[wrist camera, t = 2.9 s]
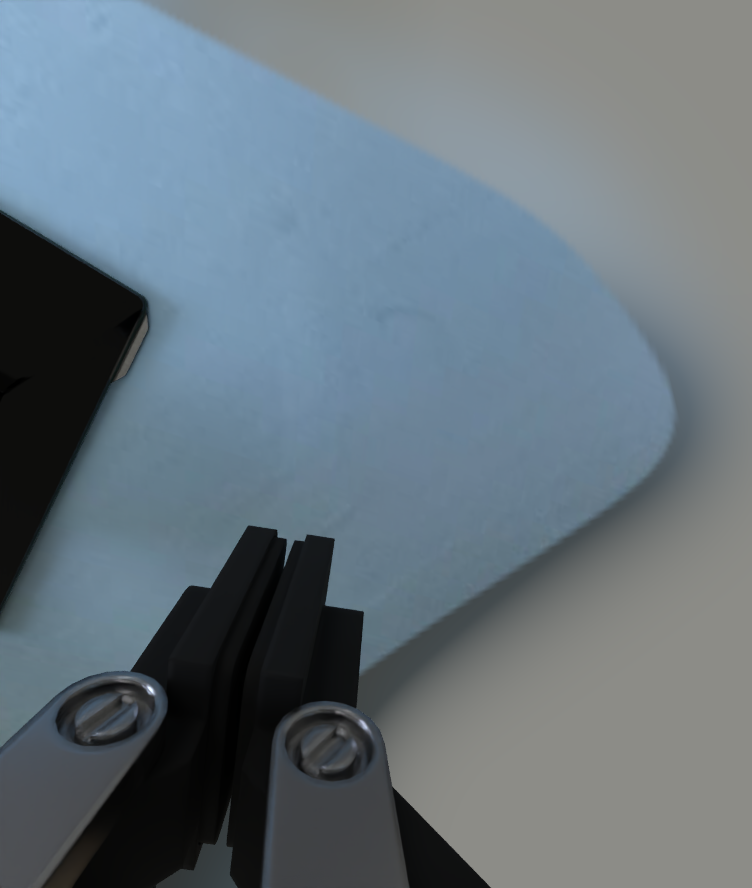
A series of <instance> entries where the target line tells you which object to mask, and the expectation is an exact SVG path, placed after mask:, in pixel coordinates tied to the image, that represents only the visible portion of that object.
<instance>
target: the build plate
mask: <svg viewBox="0 0 752 888" xmlns="http://www.w3.org/2000/svg"><path fill="white" fill-rule="evenodd" d="M147 307H148V303H147V300H146V298H145V297H144V296H143V295H141V294H139V293H138V292H136V291H134V290H133V289H131V288H129V287H128V286H126V285H124V284H123V283H121V282H120V281H118V280H116V279H115V278H113V277H111V276H110V275H108V274H106V273H105V272H103V271H101V270H100V269H98V268H96V267H95V266H93V265H91V264H90V263H88V262H86V261H85V260H83V259H81V258H80V257H78V256H76V255H75V254H73V253H71V252H70V251H68V250H66V249H65V248H63V247H61V246H60V245H58V244H56V243H55V242H53V241H51V240H50V239H48V238H47V237H45V236H43V235H42V234H40V233H38V232H37V231H35V230H33V229H32V228H30V227H28V226H27V225H25V224H23V223H22V222H20V221H18V220H17V219H15V218H13V217H12V216H10V215H8V214H7V213H5V212H3V211H2V210H0V614H1V612H2V609H3V607H4V605H5V603H6V601H7V599H8V597H9V595H10V593H11V591H12V589H13V587H14V584H15V582H16V580H17V578H18V576H19V574H20V572H21V570H22V568H23V566H24V564H25V562H26V559H27V557H28V555H29V553H30V551H31V549H32V547H33V545H34V543H35V541H36V539H37V537H38V535H39V532H40V530H41V528H42V526H43V524H44V522H45V520H46V518H47V516H48V514H49V512H50V510H51V507H52V505H53V503H54V501H55V499H56V497H57V495H58V493H59V491H60V489H61V487H62V485H63V482H64V480H65V478H66V476H67V474H68V472H69V470H70V468H71V466H72V464H73V462H74V460H75V457H76V455H77V453H78V451H79V449H80V447H81V445H82V443H83V441H84V439H85V437H86V435H87V433H88V430H89V428H90V426H91V424H92V422H93V420H94V418H95V416H96V414H97V412H98V410H99V408H100V405H101V403H102V401H103V399H104V397H105V395H106V393H107V391H108V389H109V387H110V385H111V383H112V382H114V381H116V380H118V379H120V378H122V377H123V376H125V375H126V374H127V372H128V370H129V368H130V366H131V364H132V362H133V360H134V358H135V356H136V354H137V352H138V350H139V348H140V346H141V343H142V341H143V339H144V337H145V335H146V333H147V331H148V329H149V326H148V316H147Z"/></svg>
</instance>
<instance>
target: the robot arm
mask: <svg viewBox="0 0 752 888" xmlns="http://www.w3.org/2000/svg"><path fill="white" fill-rule="evenodd" d="M277 536H278V532H277V530H275V529H268V528H262V527H255V526H248V527H247V528H246V530H245V532H244V533H243V535H242V537H241V538H240V540H239V542H238V543H237V545H236V547H235V548H234V550H233V552H232V553H231V555H230V557H229V558H228V560H227V562H226V563H225V565H224V567H223V568H222V570H221V572H220V573H219V575H218V577H217V578H216V580H215V582H214V583H213V585H212V587H211V588H205V587H199V586H189V587H188V588H187V589H186V590H185V591H184V593H183V594H182V596H181V597H180V599H179V600H178V602H177V603H176V605H175V606H174V608H173V609H172V611H171V612H170V614H169V615H168V616H167V618H166V619H165V621H164V622H163V624H162V625H161V627H160V628H159V630H158V631H157V633H156V634H155V636H154V637H153V639H152V640H151V642H150V643H149V644H148V646H147V647H146V649H145V650H144V652H143V653H142V655H141V656H140V658H139V659H138V661H137V662H136V664H135V665H134V667H133V668H132V669H131V671H130V672H129V671H114V672H104V673H100V674H96V675H93V676H89V677H86V678H84V679H82V680H80V681H78V682H75V683H73V684H71V685H70V686H68V687H67V688H66V689H64V690H63V691H61V692H60V693H59V694H57V695H56V696H55V697H54V698H53V699H52V700H51V701H50V702H49V703H47V704H46V705H45V706H44V707H43V708H42V709H41V710H40V711H39V712H38V713H37V714H36V715H35V716H34V717H33V718H32V719H30V720H29V721H28V722H27V723H26V724H25V725H24V726H23V727H22V728H21V729H20V730H19V731H18V732H17V733H16V734H14V735H13V736H12V737H11V738H10V739H9V740H8V741H7V742H6V743H5V744H4V745H3V746H2V747H1V748H0V888H156V884H158V883H159V882H161V881H162V880H164V879H165V878H167V877H168V876H170V875H172V874H173V873H175V872H176V871H178V870H179V869H187V870H194V868H195V865H196V862H197V859H198V856H199V853H200V850H201V847H202V844H203V843H206V844H214V845H215V844H216V842H217V840H218V837H219V834H220V831H221V828H222V824H223V821H224V818H225V815H226V811H227V808H228V805H229V802H230V798H231V806H230V816H229V825H228V834H227V846H228V847H233V852H232V861H231V869H230V876H231V877H232V879H233V881H234V882H235V884H236V885H237V887H238V888H491V887H490V886H489V885H488V884H487V883H486V882H485V881H484V880H483V879H482V878H481V877H480V876H479V875H478V874H477V873H476V872H475V871H474V870H473V869H472V868H471V867H470V866H469V865H468V864H467V863H466V862H465V861H464V860H463V859H462V858H461V857H460V856H459V854H457V853H456V852H455V850H454V849H453V848H452V847H451V846H450V845H449V844H448V843H447V842H446V841H445V840H444V839H443V838H442V837H441V836H440V835H439V834H438V833H437V832H436V831H435V830H434V829H433V828H432V827H431V826H430V825H429V824H428V823H427V822H426V821H425V820H424V819H423V818H422V817H421V816H420V815H419V813H418V812H417V811H416V810H414V808H413V807H412V806H411V805H410V804H409V803H408V802H407V801H406V800H405V799H404V798H403V797H402V796H401V795H400V794H399V793H398V792H397V791H396V790H395V789H394V788H393V787H392V783H391V777H390V772H389V766H388V760H387V754H386V748H385V743H384V741H383V738H382V735H381V732H380V730H379V729H378V727H377V726H376V725H375V723H374V722H373V721H372V720H371V718H369V717H368V716H366V715H365V714H364V713H362V712H361V711H360V710H358V709H356V705H357V692H358V680H359V667H360V655H361V642H362V629H363V616H364V612H363V611H357V610H350V609H344V608H337V607H331V606H325V602H326V595H327V588H328V582H329V575H330V568H331V562H332V555H333V548H334V541H335V539H333V538H327V537H320V536H314V535H307V536H306V539H305V542H304V541H297V540H295V541H294V543H293V546H292V549H291V551H290V554H289V557H288V559H287V562H286V565H285V567H284V562H285V554H286V545H287V539H284V538H278V537H277ZM231 795H232V797H231Z"/></svg>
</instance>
